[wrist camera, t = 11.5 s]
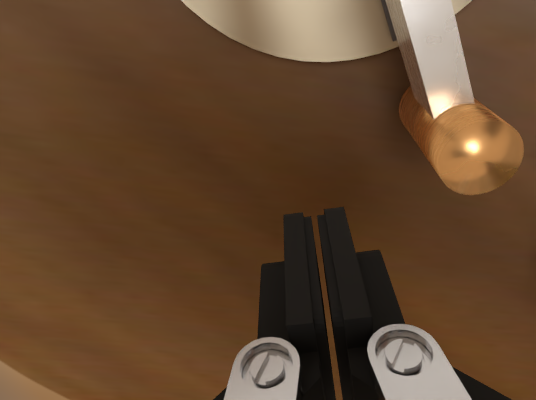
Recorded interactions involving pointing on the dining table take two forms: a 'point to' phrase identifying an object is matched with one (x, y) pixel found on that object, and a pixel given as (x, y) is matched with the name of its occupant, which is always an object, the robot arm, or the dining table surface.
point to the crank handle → (449, 102)
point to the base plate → (306, 26)
